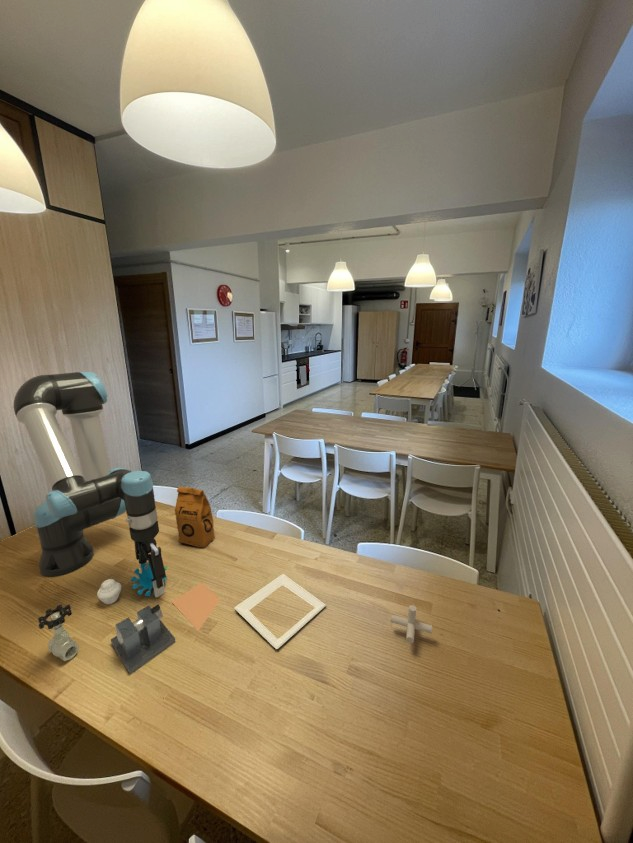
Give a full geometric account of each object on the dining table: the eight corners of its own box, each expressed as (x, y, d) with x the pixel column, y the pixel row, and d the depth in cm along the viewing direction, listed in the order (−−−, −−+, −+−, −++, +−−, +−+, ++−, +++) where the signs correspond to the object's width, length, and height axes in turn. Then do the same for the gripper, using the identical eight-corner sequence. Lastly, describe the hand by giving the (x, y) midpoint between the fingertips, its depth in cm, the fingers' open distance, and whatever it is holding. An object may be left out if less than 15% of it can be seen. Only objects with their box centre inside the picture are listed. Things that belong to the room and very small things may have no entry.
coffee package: (202, 552, 119) (196, 497, 113) (175, 544, 123) (168, 491, 117) (219, 536, 128) (214, 485, 122) (193, 530, 132) (187, 480, 126)
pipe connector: (430, 628, 89) (433, 598, 86) (429, 662, 80) (433, 630, 77) (392, 618, 92) (394, 588, 89) (387, 650, 83) (390, 618, 80)
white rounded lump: (95, 610, 95) (91, 590, 93) (104, 594, 100) (100, 574, 98) (119, 606, 96) (115, 586, 94) (126, 590, 102) (122, 571, 100)
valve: (57, 671, 78) (46, 630, 74) (42, 659, 80) (30, 620, 77) (86, 647, 83) (77, 609, 80) (71, 637, 86) (61, 600, 83)
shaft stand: (111, 644, 84) (105, 618, 82) (155, 616, 92) (151, 592, 90) (130, 675, 77) (124, 647, 75) (175, 642, 85) (171, 616, 83)
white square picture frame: (326, 610, 95) (326, 604, 94) (276, 655, 82) (276, 648, 81) (283, 578, 107) (283, 572, 107) (234, 612, 94) (233, 607, 93)
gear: (141, 602, 95) (126, 570, 98) (134, 608, 98) (120, 577, 101) (176, 581, 104) (162, 553, 107) (169, 588, 107) (155, 560, 110)
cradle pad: (171, 602, 97) (171, 601, 97) (202, 583, 105) (202, 582, 104) (198, 631, 88) (198, 630, 88) (230, 608, 95) (230, 607, 95)
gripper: (116, 515, 100) (127, 578, 106) (145, 543, 87) (156, 613, 93) (142, 506, 106) (151, 566, 112) (172, 531, 93) (181, 597, 99)
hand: (153, 587), depth 102 cm, fingers closed on gear, 8 cm apart
